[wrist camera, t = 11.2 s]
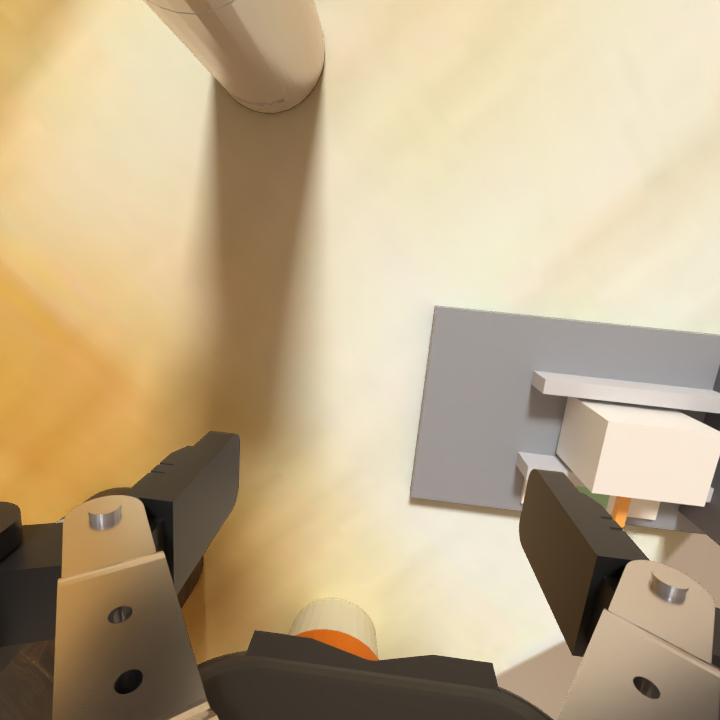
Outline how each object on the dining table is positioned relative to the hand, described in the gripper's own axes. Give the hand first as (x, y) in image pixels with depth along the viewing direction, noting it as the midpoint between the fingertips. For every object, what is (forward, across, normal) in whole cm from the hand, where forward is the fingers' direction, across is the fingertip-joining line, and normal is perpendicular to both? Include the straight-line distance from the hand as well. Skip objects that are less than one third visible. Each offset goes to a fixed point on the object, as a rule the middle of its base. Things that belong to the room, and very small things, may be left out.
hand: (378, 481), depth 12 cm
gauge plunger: (+26, -20, +8) cm, 34 cm away
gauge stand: (+28, -18, +6) cm, 34 cm away
